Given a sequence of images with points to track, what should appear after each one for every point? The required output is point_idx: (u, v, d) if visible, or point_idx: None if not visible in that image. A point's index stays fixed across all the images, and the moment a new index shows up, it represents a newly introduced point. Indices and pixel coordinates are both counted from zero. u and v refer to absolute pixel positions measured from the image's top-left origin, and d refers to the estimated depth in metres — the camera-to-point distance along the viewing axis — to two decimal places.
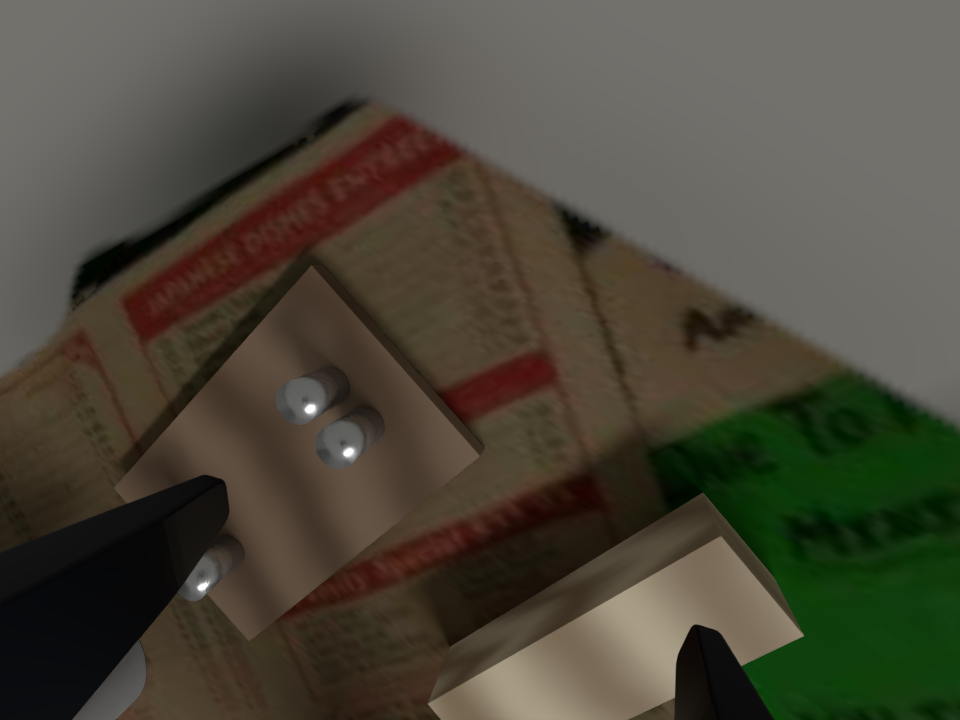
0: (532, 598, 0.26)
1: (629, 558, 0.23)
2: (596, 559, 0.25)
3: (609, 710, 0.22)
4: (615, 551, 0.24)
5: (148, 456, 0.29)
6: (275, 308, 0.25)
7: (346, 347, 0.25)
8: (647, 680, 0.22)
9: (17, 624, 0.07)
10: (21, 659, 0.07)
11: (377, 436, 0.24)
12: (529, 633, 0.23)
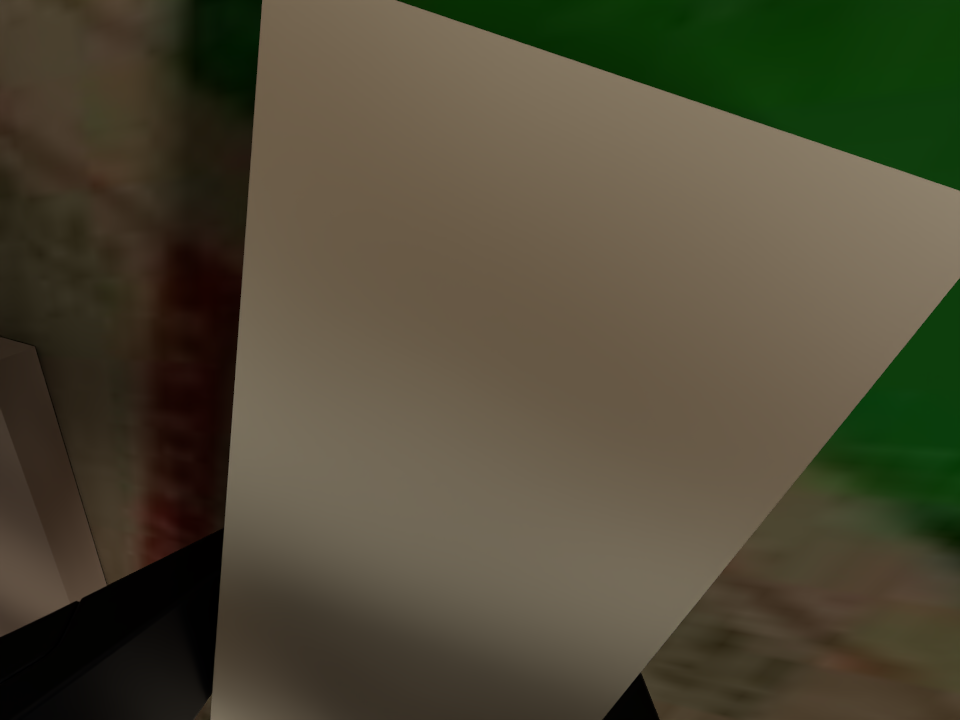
0: None
1: None
2: None
3: None
4: None
5: None
6: None
7: None
8: (501, 685, 0.06)
9: (123, 666, 0.07)
10: (127, 702, 0.07)
11: None
12: None
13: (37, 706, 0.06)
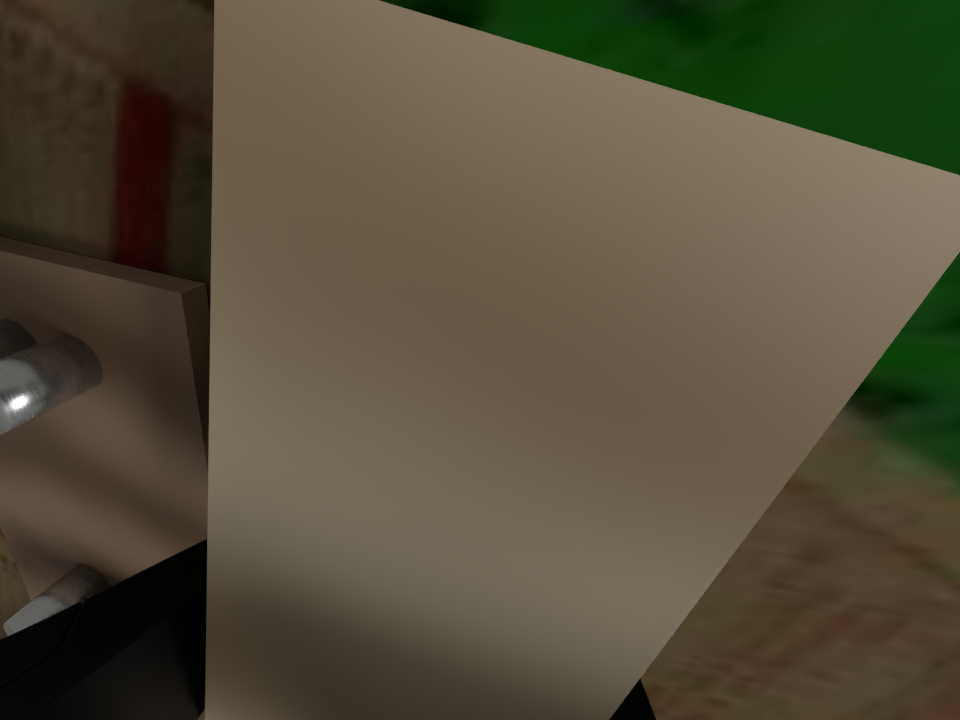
0: None
1: None
2: None
3: None
4: None
5: (14, 550, 0.24)
6: None
7: None
8: (494, 699, 0.06)
9: (126, 668, 0.07)
10: (131, 704, 0.07)
11: (69, 362, 0.16)
12: None
13: (41, 708, 0.05)
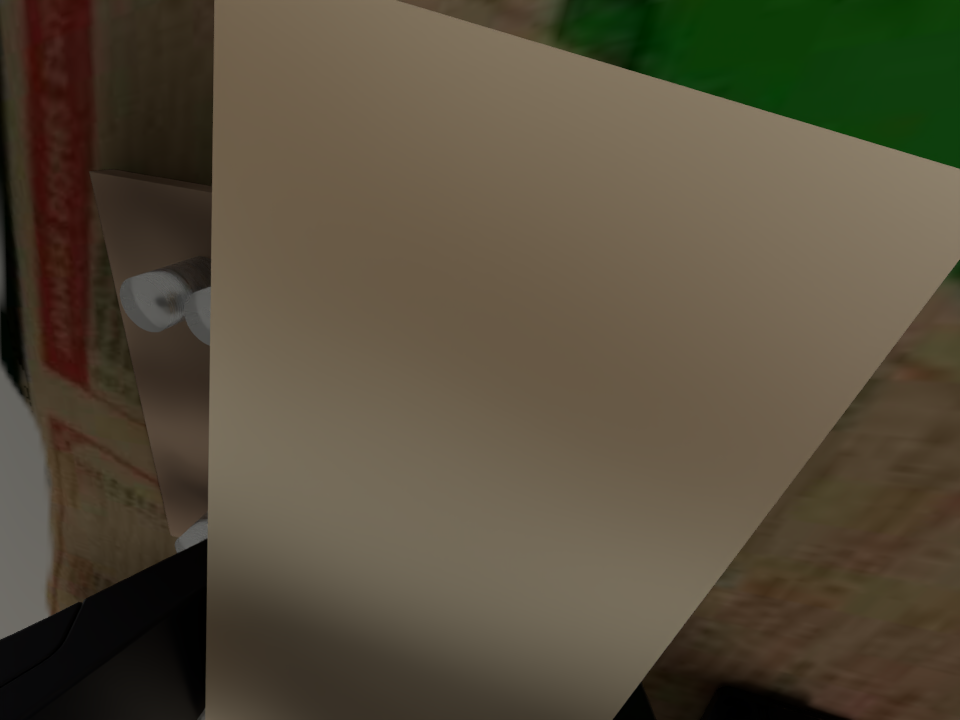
0: None
1: None
2: None
3: None
4: None
5: (163, 485, 0.26)
6: (108, 248, 0.21)
7: (182, 226, 0.20)
8: (496, 700, 0.06)
9: (127, 667, 0.07)
10: (131, 704, 0.07)
11: None
12: None
13: (41, 708, 0.05)
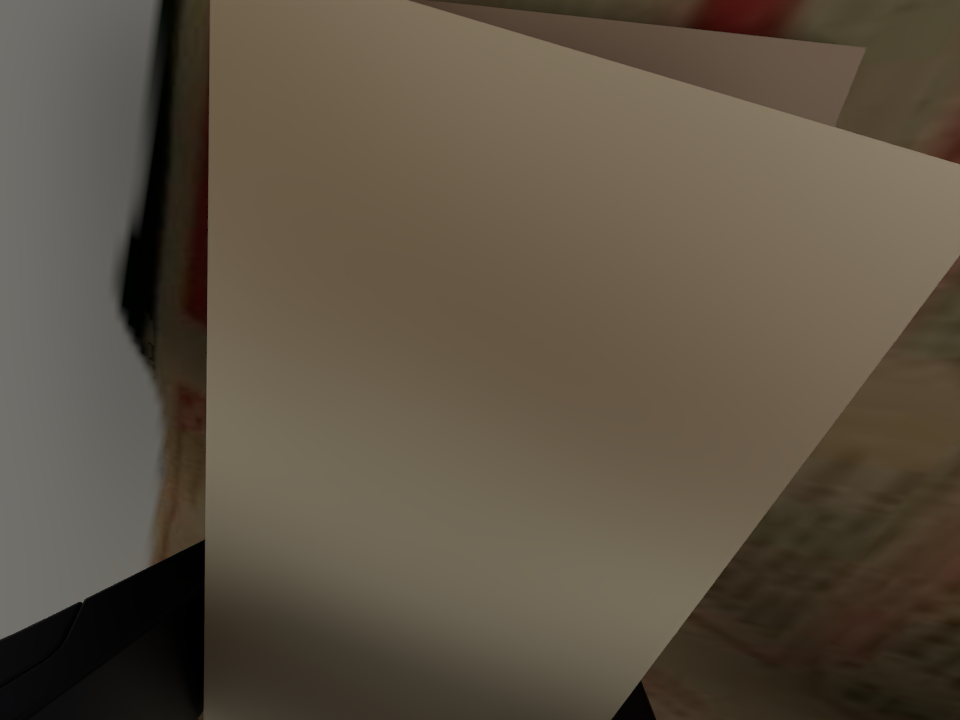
0: None
1: None
2: None
3: None
4: None
5: None
6: None
7: None
8: (494, 700, 0.06)
9: (126, 668, 0.07)
10: (131, 704, 0.07)
11: None
12: None
13: (41, 708, 0.05)
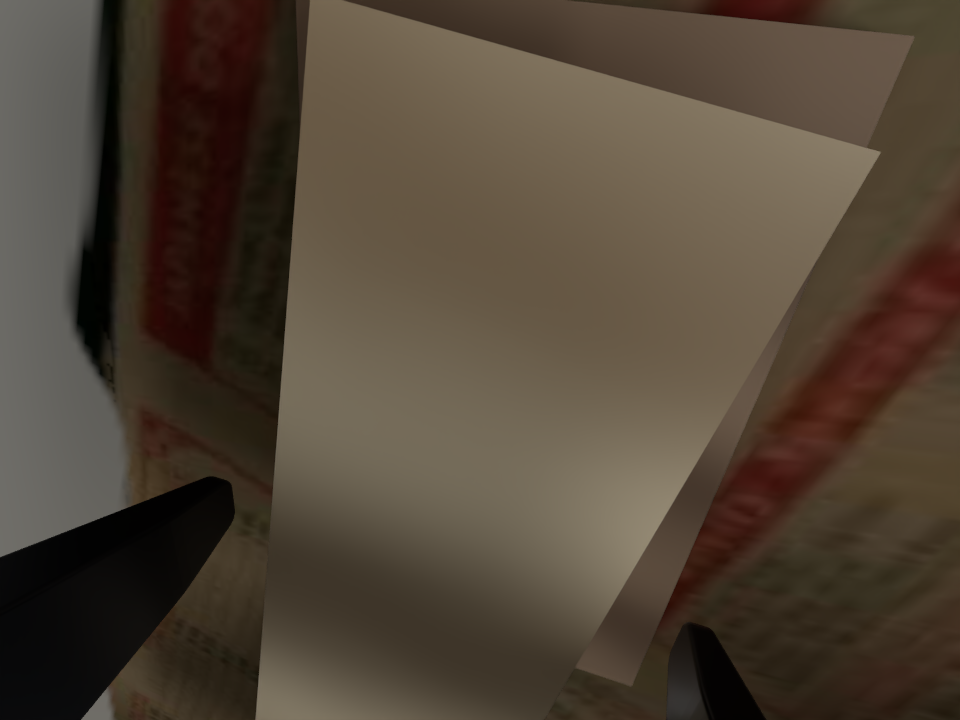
0: None
1: None
2: None
3: (501, 699, 0.08)
4: None
5: None
6: None
7: None
8: (516, 596, 0.07)
9: (24, 627, 0.07)
10: (29, 662, 0.07)
11: None
12: None
13: None
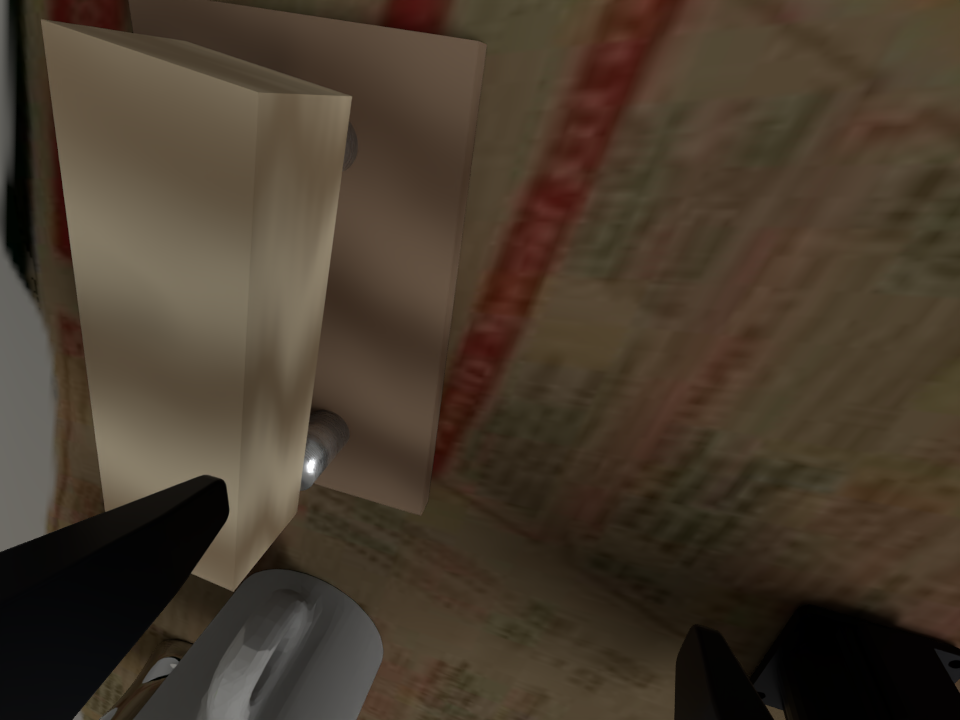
0: None
1: None
2: None
3: (218, 420, 0.14)
4: None
5: None
6: None
7: (236, 57, 0.17)
8: (204, 343, 0.13)
9: (16, 624, 0.07)
10: (21, 659, 0.07)
11: None
12: None
13: None
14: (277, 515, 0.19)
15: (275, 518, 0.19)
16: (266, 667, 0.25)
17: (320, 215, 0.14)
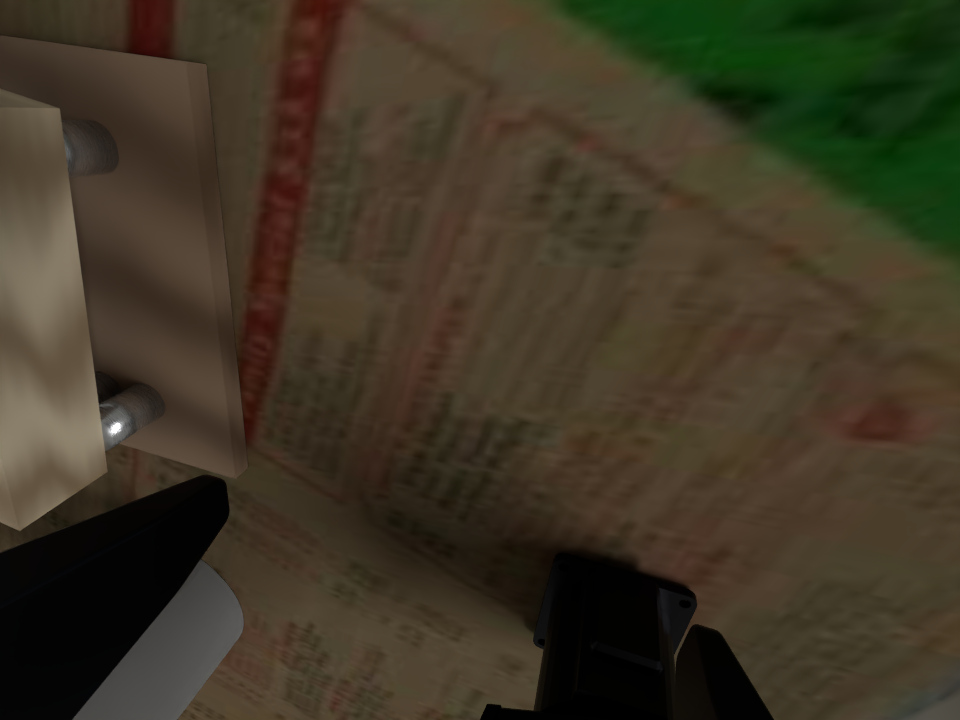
0: None
1: None
2: None
3: None
4: None
5: None
6: None
7: (15, 79, 0.20)
8: None
9: (16, 624, 0.07)
10: (21, 659, 0.07)
11: (91, 135, 0.19)
12: None
13: None
14: (72, 469, 0.22)
15: (69, 471, 0.22)
16: None
17: (45, 205, 0.17)
